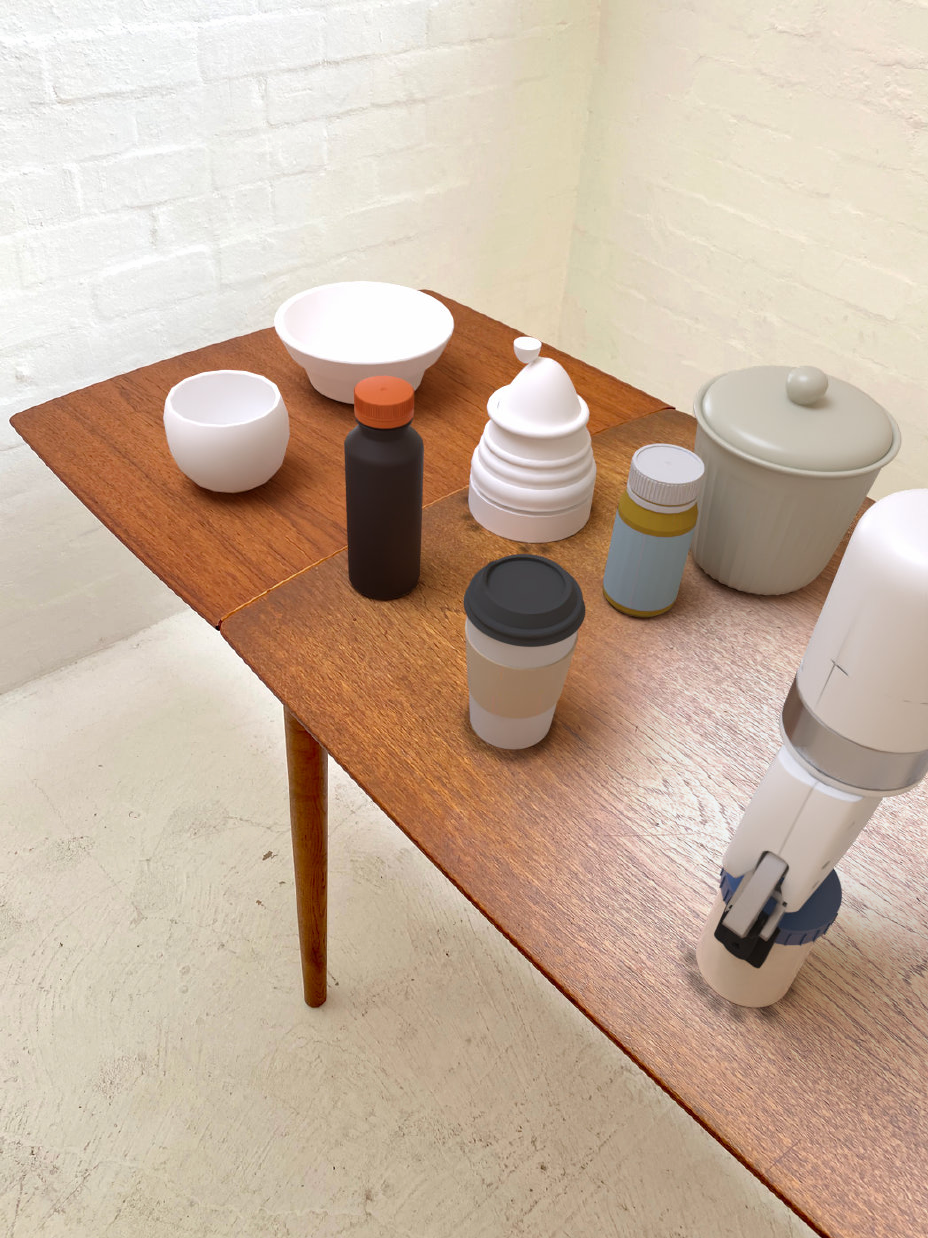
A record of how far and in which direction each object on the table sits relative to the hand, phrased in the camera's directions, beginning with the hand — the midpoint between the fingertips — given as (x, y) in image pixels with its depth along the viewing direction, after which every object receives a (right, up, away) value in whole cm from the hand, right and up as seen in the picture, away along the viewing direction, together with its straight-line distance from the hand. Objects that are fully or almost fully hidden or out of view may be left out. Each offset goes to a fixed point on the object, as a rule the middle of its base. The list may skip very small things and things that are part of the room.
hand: (769, 908), depth 61 cm
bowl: (-31, +47, +59) cm, 82 cm away
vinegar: (-27, +22, +32) cm, 47 cm away
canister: (+10, +24, +37) cm, 45 cm away
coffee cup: (-15, +10, +20) cm, 27 cm away
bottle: (-3, +20, +32) cm, 38 cm away
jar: (0, -5, +5) cm, 7 cm away
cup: (-43, +33, +43) cm, 69 cm away
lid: (0, +2, -2) cm, 3 cm away
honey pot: (-12, +30, +42) cm, 53 cm away
